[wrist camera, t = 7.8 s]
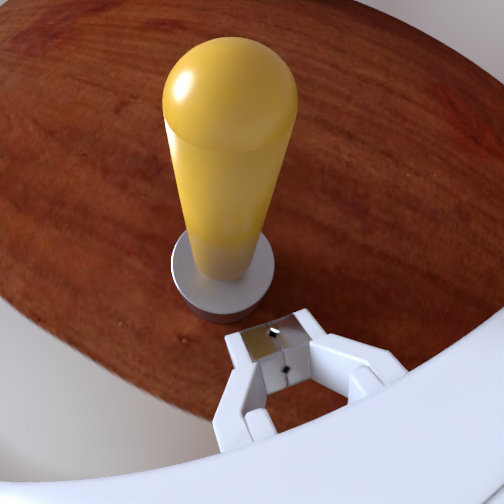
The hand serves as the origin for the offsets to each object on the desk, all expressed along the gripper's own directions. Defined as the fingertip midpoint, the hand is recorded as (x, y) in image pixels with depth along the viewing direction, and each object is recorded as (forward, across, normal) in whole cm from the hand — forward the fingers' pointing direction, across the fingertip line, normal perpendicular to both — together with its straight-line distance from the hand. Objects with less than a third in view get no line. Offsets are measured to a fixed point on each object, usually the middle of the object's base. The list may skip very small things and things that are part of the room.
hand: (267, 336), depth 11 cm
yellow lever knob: (+7, 0, +2) cm, 7 cm away
